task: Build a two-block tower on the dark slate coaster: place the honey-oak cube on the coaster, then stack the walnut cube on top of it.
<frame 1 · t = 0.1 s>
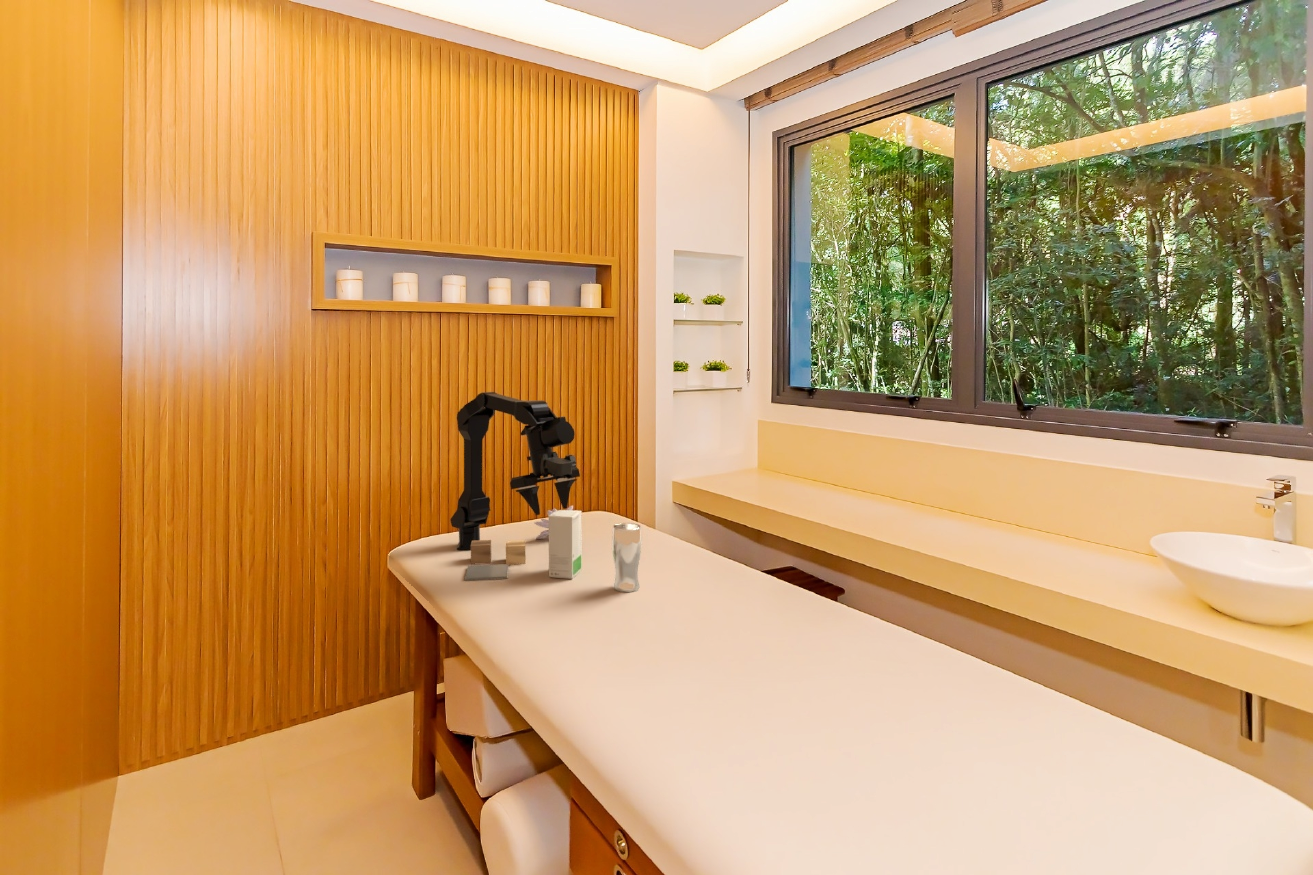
hand: (551, 511, 181), 16 cm above the table, tool pointing down, fingers open, 9 cm apart
walnut cube: (481, 561, 192), on the table
water lily: (557, 539, 214), on the table
oak cube: (515, 561, 191), on the table
slate coaster: (487, 573, 181), on the table
beer glass: (626, 588, 172), on the table
skincare box: (564, 574, 182), on the table
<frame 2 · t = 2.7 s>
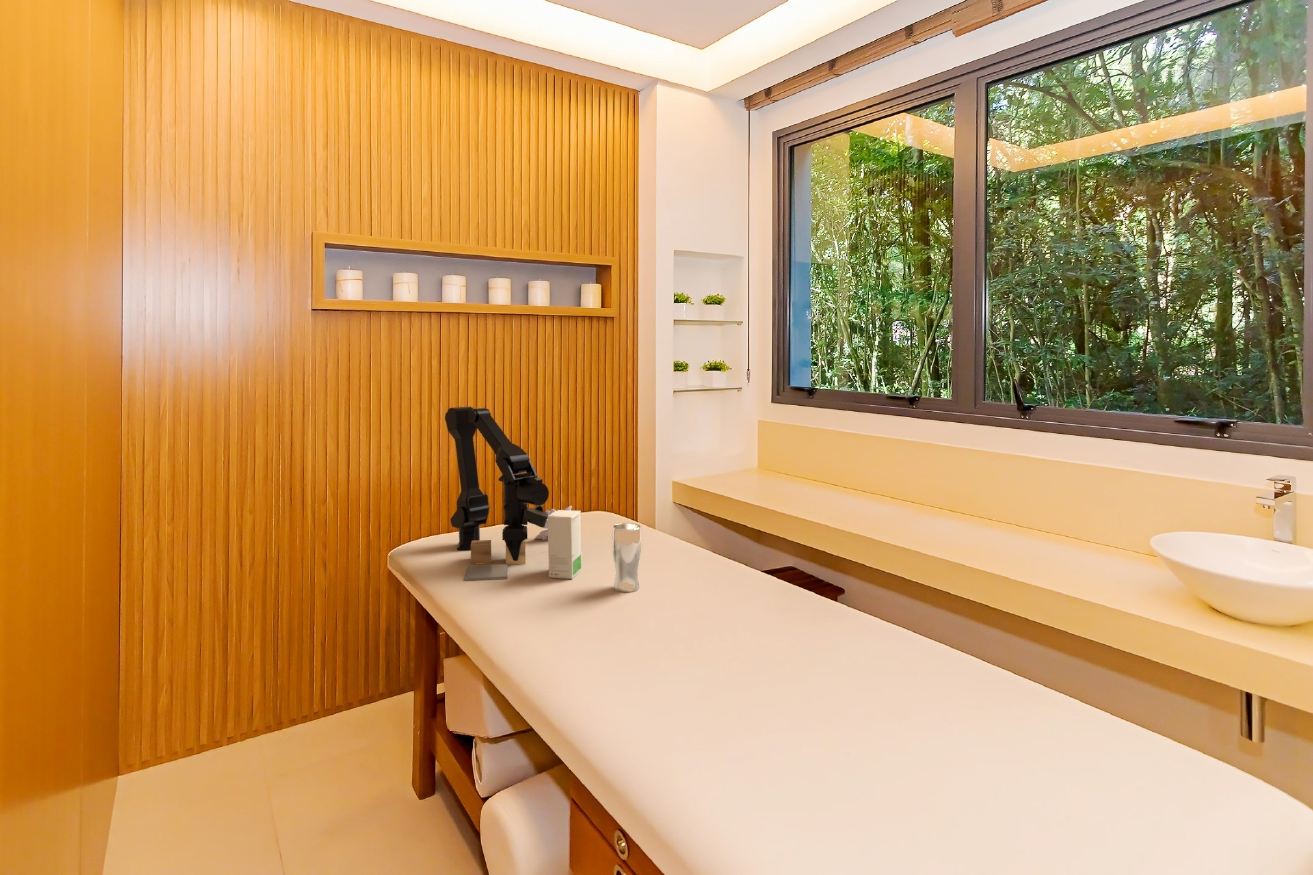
hand: (515, 557, 191), 1 cm above the table, tool pointing down, fingers closed on oak cube, 5 cm apart
oak cube: (515, 561, 191), on the table, touching gripper
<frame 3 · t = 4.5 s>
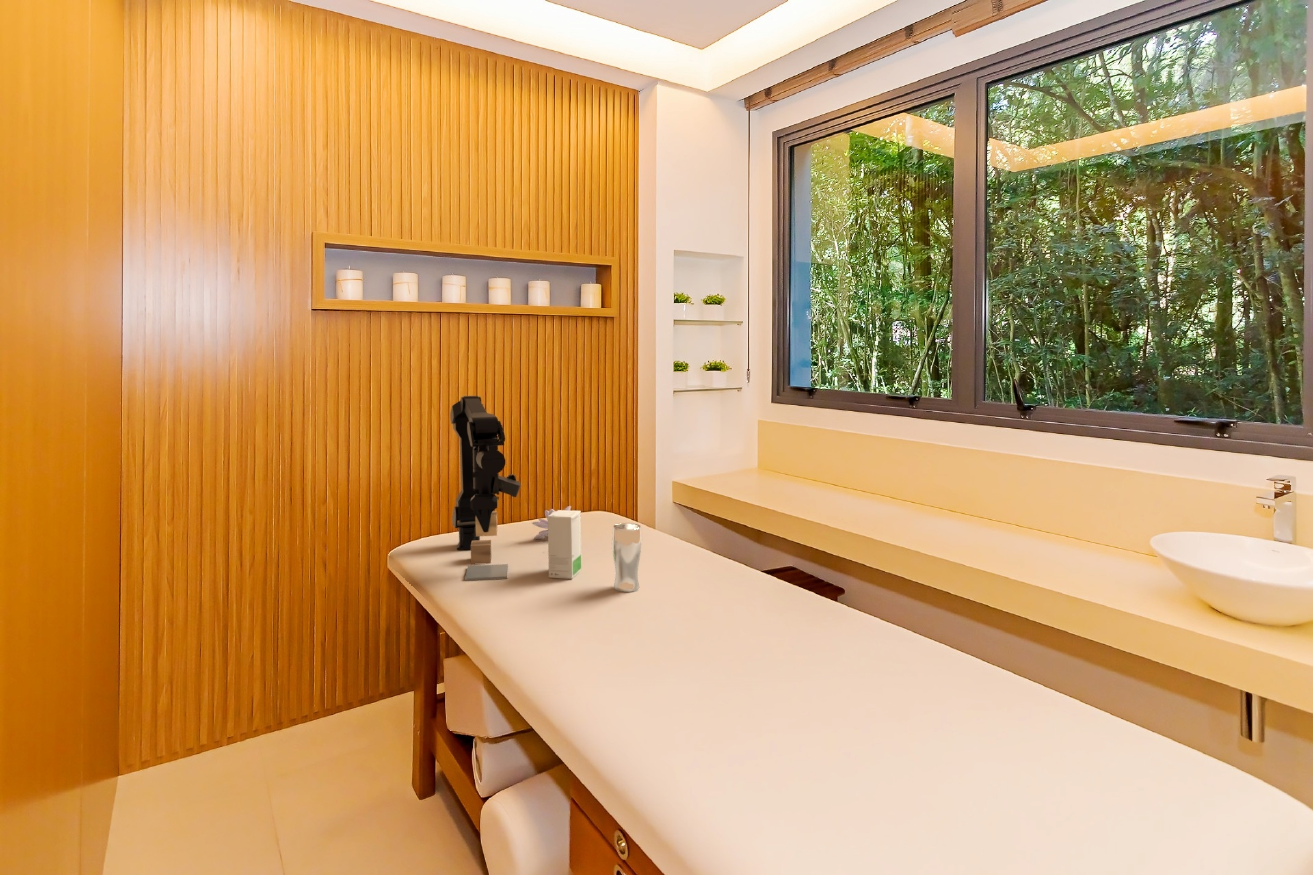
hand: (486, 529, 180), 11 cm above the table, tool pointing down, fingers closed on oak cube, 5 cm apart
oak cube: (486, 533, 180), point 10 cm above the table, touching gripper
when the fingers open (3 cm above the table, at t = 6.3 s): oak cube drops 1 cm, resting on slate coaster.
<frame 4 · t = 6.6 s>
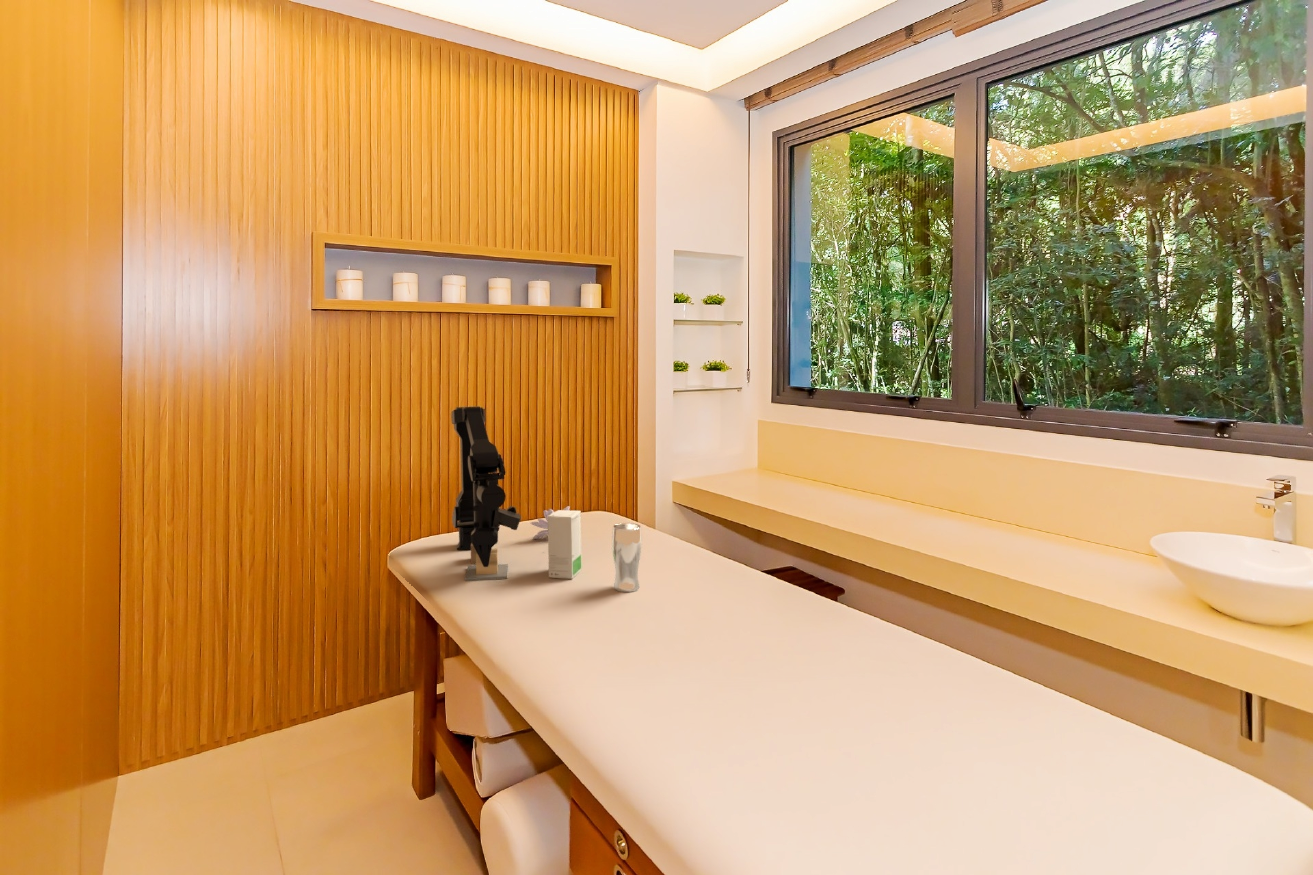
hand: (486, 561, 181), 3 cm above the table, tool pointing down, fingers open, 8 cm apart
oak cube: (487, 570, 181), point 1 cm above the table, touching slate coaster
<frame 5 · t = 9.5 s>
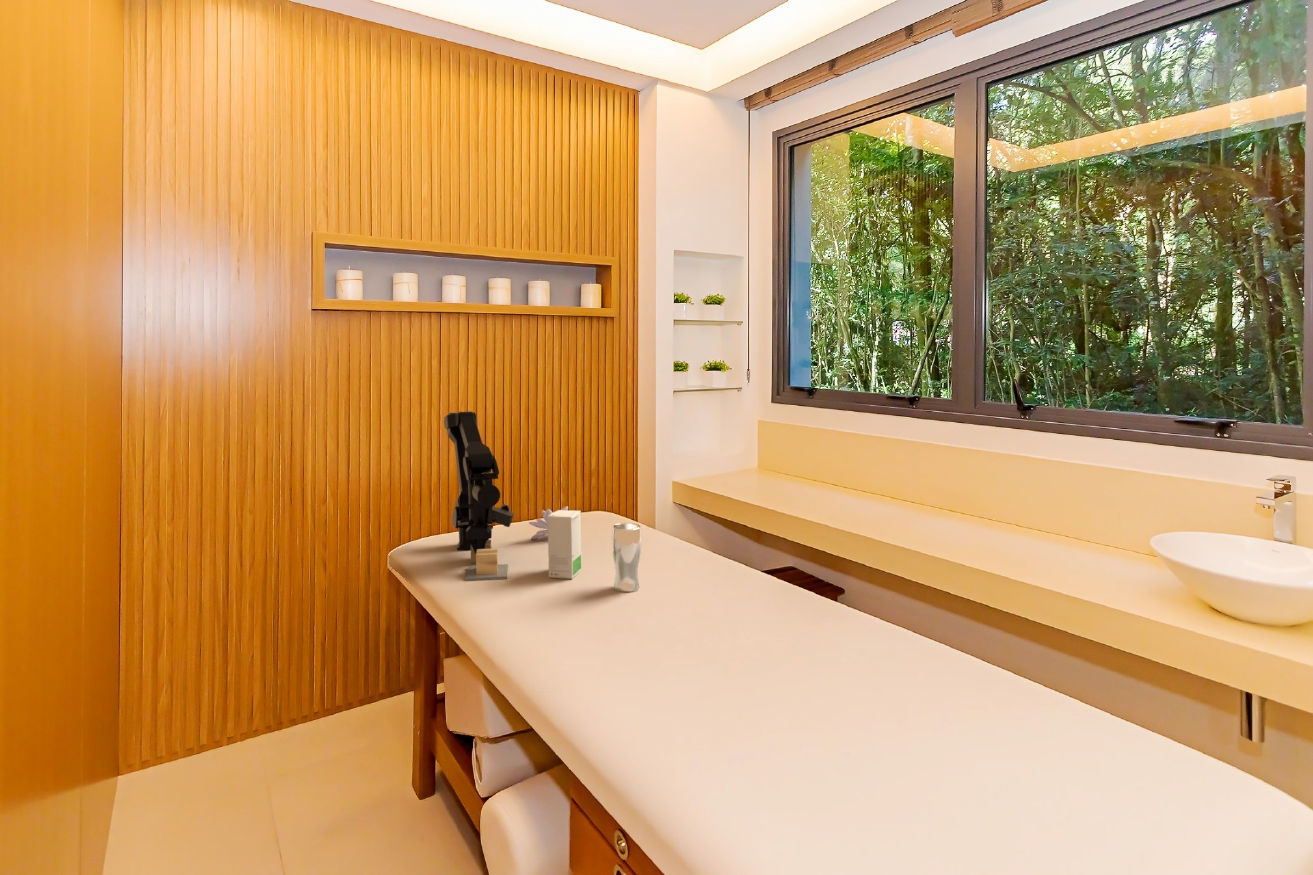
hand: (481, 556, 192), 1 cm above the table, tool pointing down, fingers closed on walnut cube, 5 cm apart
walnut cube: (481, 560, 192), on the table, touching gripper
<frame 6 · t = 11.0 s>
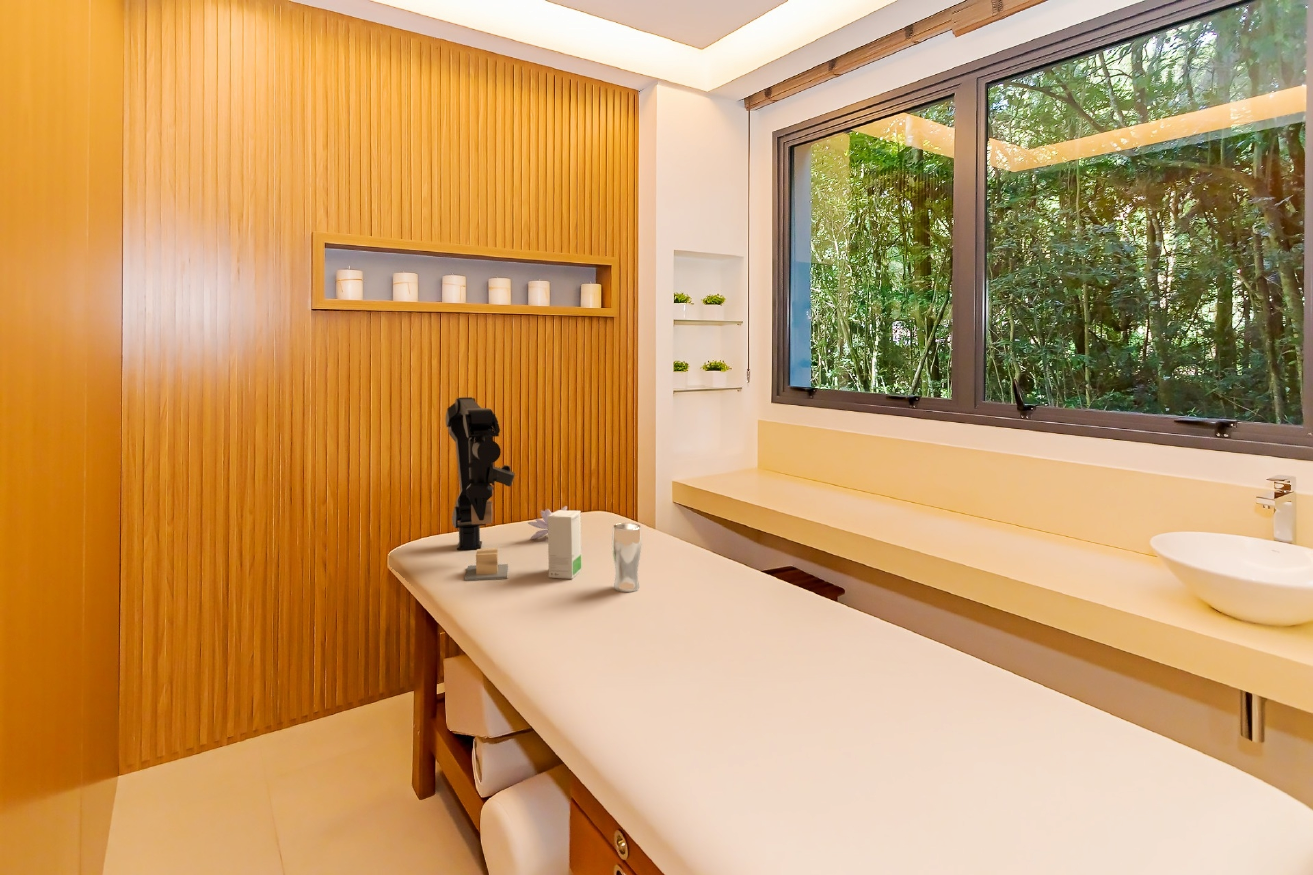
hand: (482, 517, 187), 12 cm above the table, tool pointing down, fingers closed on walnut cube, 5 cm apart
walnut cube: (482, 521, 187), point 11 cm above the table, touching gripper
when the fingers open (8 cm above the table, at t = 12.8 s): walnut cube drops 1 cm, resting on oak cube.
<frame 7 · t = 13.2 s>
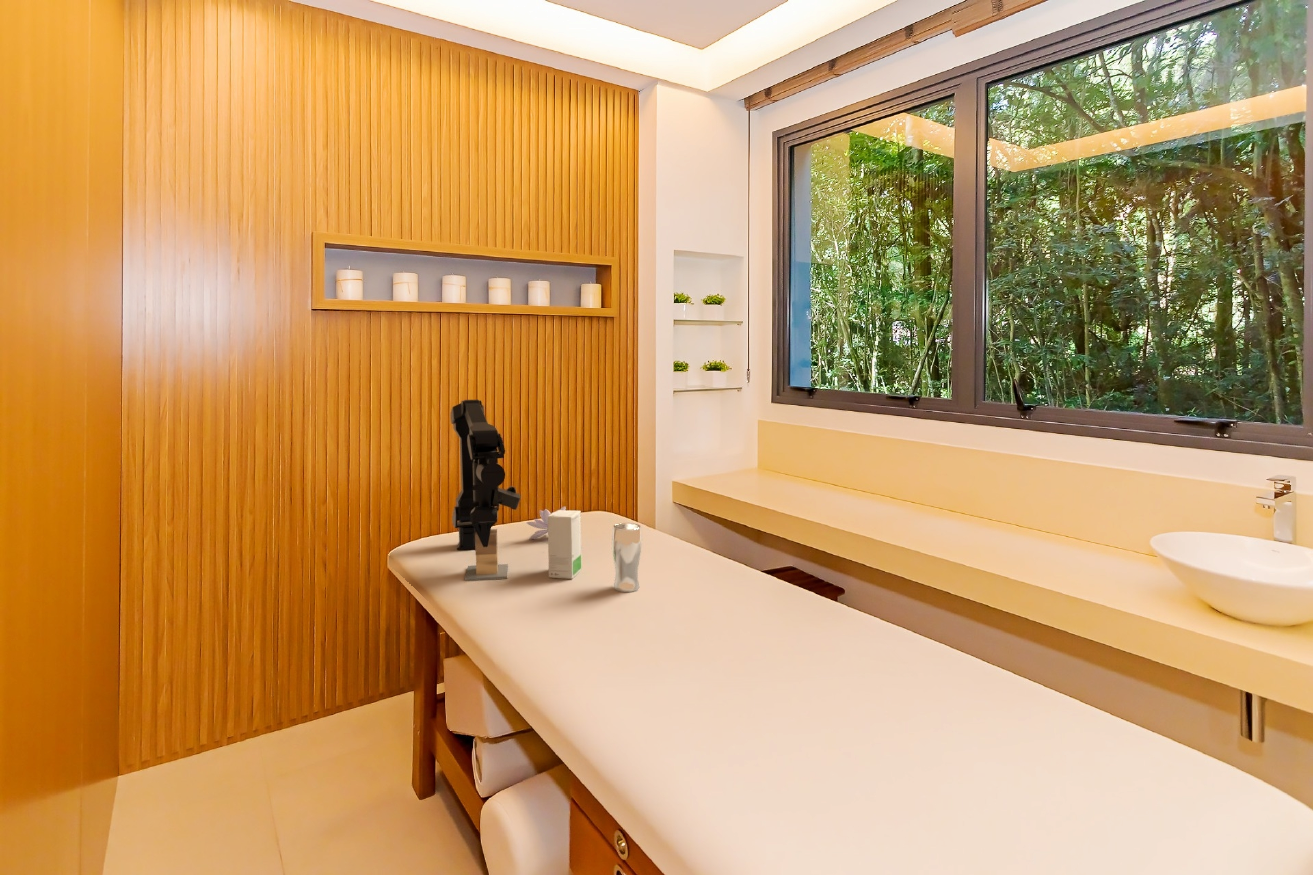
hand: (486, 541, 180), 8 cm above the table, tool pointing down, fingers open, 9 cm apart
walnut cube: (486, 551, 181), point 6 cm above the table, touching oak cube
oak cube: (487, 570, 181), point 1 cm above the table, touching slate coaster, walnut cube
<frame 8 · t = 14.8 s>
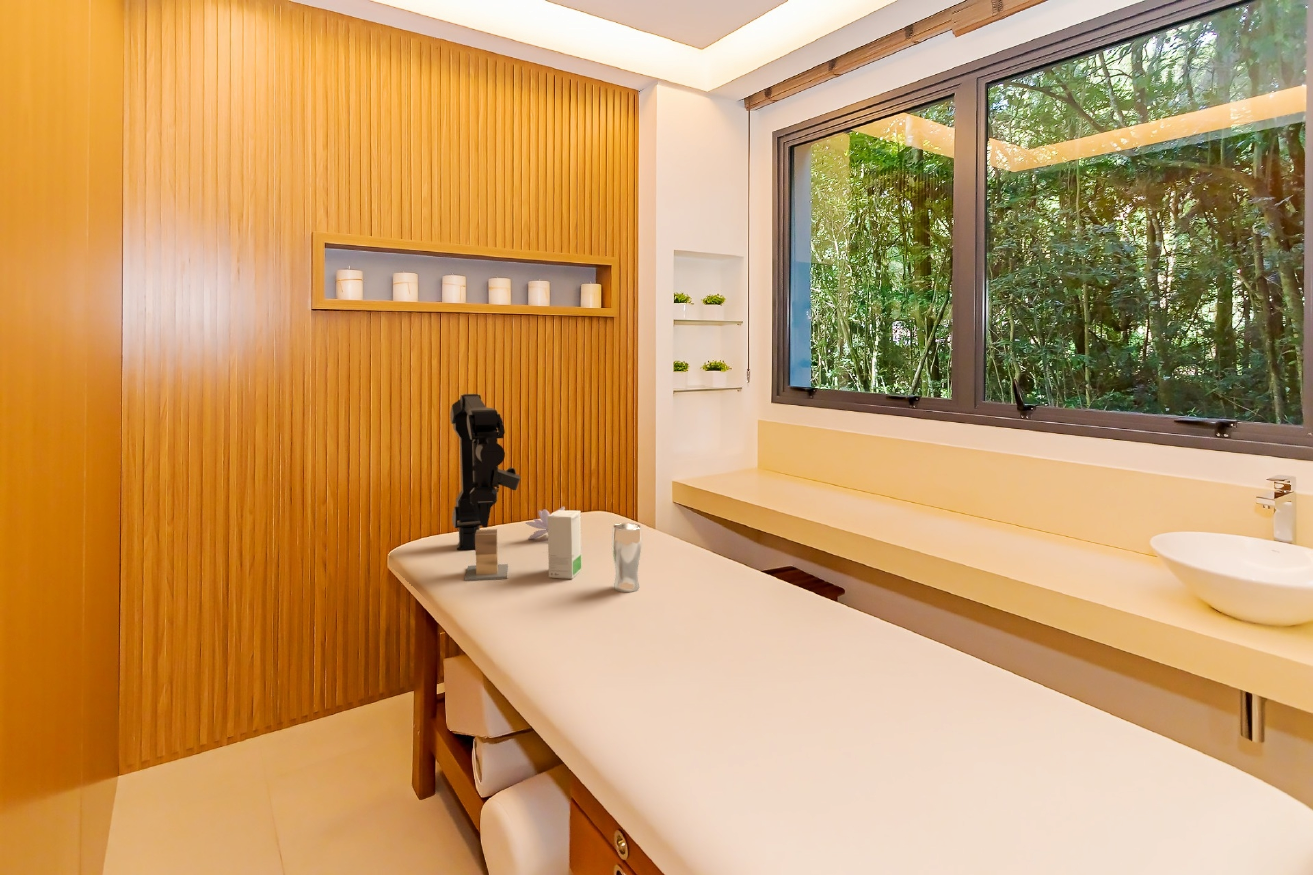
hand: (486, 522, 180), 13 cm above the table, tool pointing down, fingers open, 9 cm apart
at the end: oak cube inside the target area (0.1 cm from its centre), point 0.6 cm above the table; walnut cube 0.1 cm off-centre on the oak cube, point 5.0 cm above the oak cube's base; the gripper is holding nothing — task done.
